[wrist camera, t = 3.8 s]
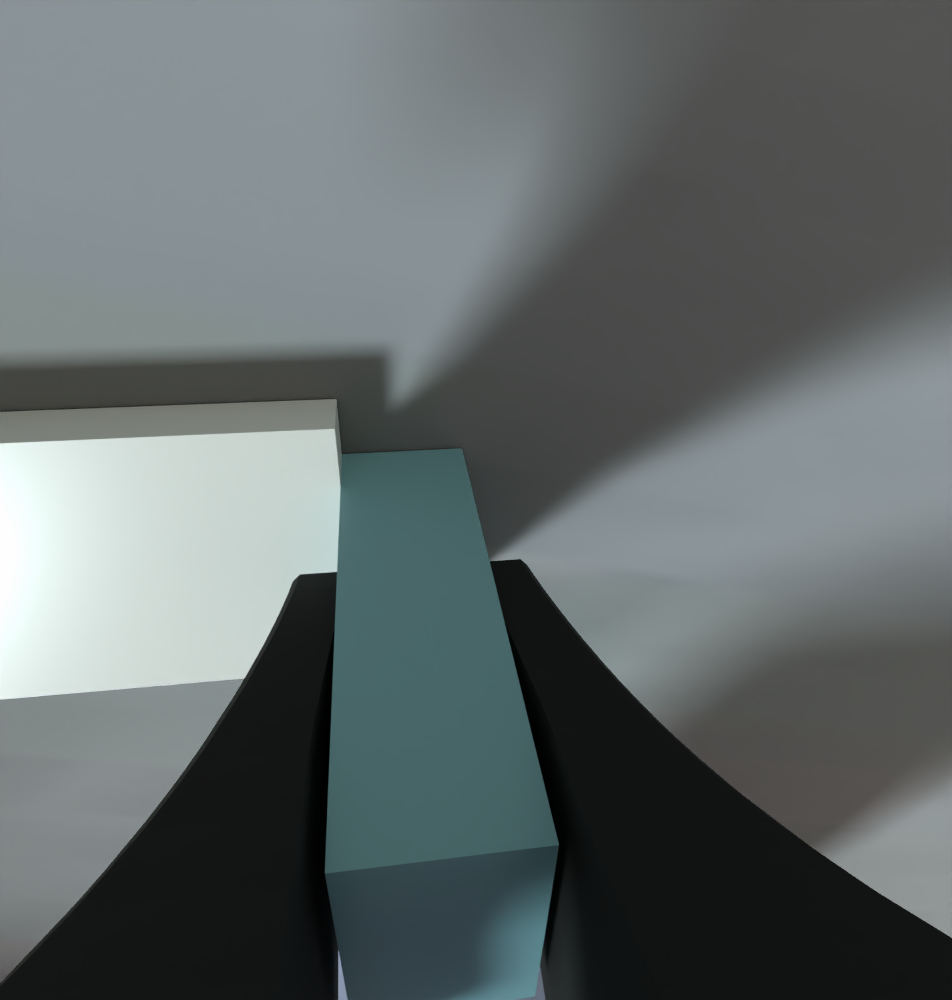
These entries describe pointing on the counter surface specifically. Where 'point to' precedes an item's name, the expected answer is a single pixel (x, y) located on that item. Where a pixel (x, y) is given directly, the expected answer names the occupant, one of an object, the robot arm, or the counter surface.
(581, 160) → the counter surface
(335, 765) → the scraper
